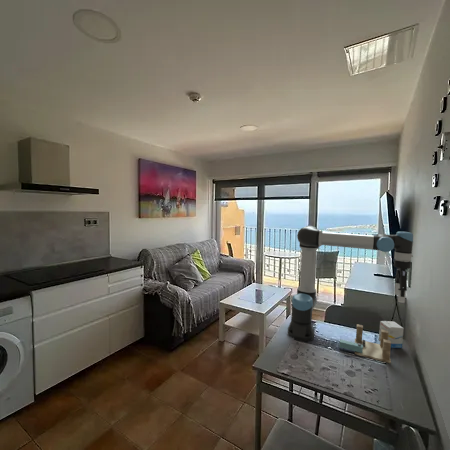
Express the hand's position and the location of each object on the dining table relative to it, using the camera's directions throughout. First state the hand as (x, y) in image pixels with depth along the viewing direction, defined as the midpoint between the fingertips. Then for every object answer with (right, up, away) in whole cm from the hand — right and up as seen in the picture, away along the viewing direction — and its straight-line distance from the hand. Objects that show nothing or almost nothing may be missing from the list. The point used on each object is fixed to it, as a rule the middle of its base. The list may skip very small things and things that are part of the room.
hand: (399, 298), depth 139 cm
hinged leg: (-28, -26, -3) cm, 39 cm away
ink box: (-1, -28, +6) cm, 28 cm away
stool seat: (-17, -28, -2) cm, 32 cm away
